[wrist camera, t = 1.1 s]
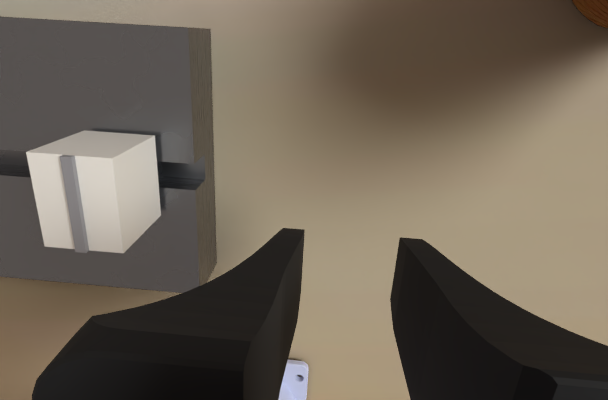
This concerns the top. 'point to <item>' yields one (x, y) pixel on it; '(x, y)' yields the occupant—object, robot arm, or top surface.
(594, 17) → the disposable coffee cup
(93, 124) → the fader console
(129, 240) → the fader tab
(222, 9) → the top surface
